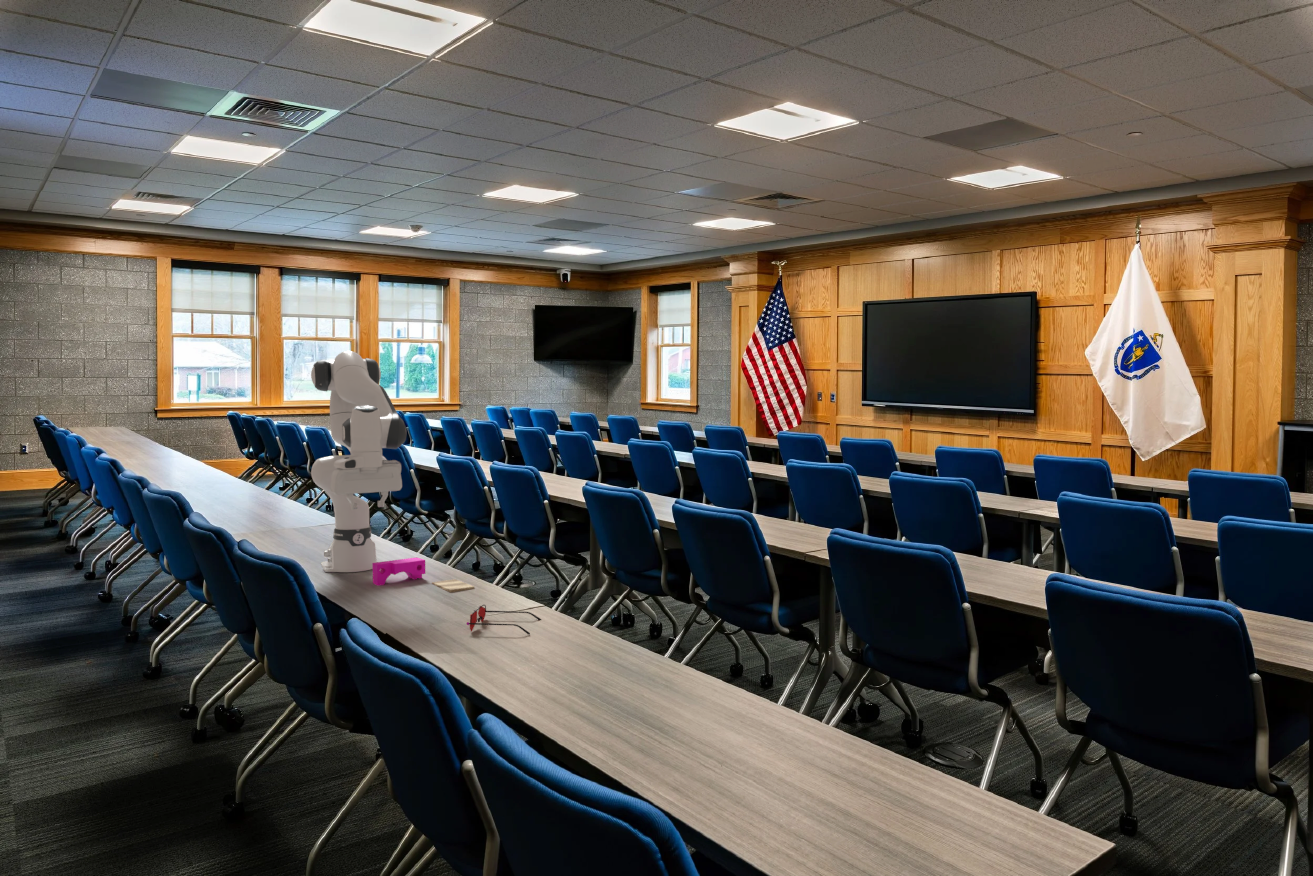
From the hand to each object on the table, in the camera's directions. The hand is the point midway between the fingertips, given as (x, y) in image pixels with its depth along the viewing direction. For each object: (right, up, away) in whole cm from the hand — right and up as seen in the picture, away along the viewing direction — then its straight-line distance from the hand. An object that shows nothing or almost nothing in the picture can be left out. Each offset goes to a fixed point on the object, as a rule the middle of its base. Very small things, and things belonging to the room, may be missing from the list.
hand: (367, 508), depth 262 cm
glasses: (+45, -29, -28) cm, 61 cm away
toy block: (+2, -19, +23) cm, 30 cm away
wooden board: (+21, -27, +17) cm, 38 cm away
